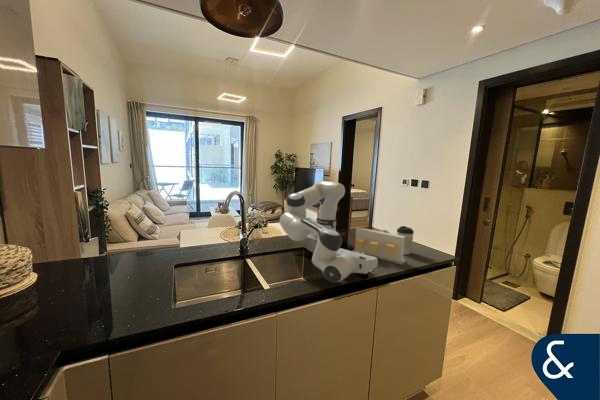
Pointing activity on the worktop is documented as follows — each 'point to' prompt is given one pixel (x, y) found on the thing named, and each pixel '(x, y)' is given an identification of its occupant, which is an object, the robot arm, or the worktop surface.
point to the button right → (390, 248)
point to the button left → (360, 243)
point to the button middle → (374, 246)
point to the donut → (384, 232)
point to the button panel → (381, 244)
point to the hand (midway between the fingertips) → (361, 253)
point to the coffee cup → (406, 238)
